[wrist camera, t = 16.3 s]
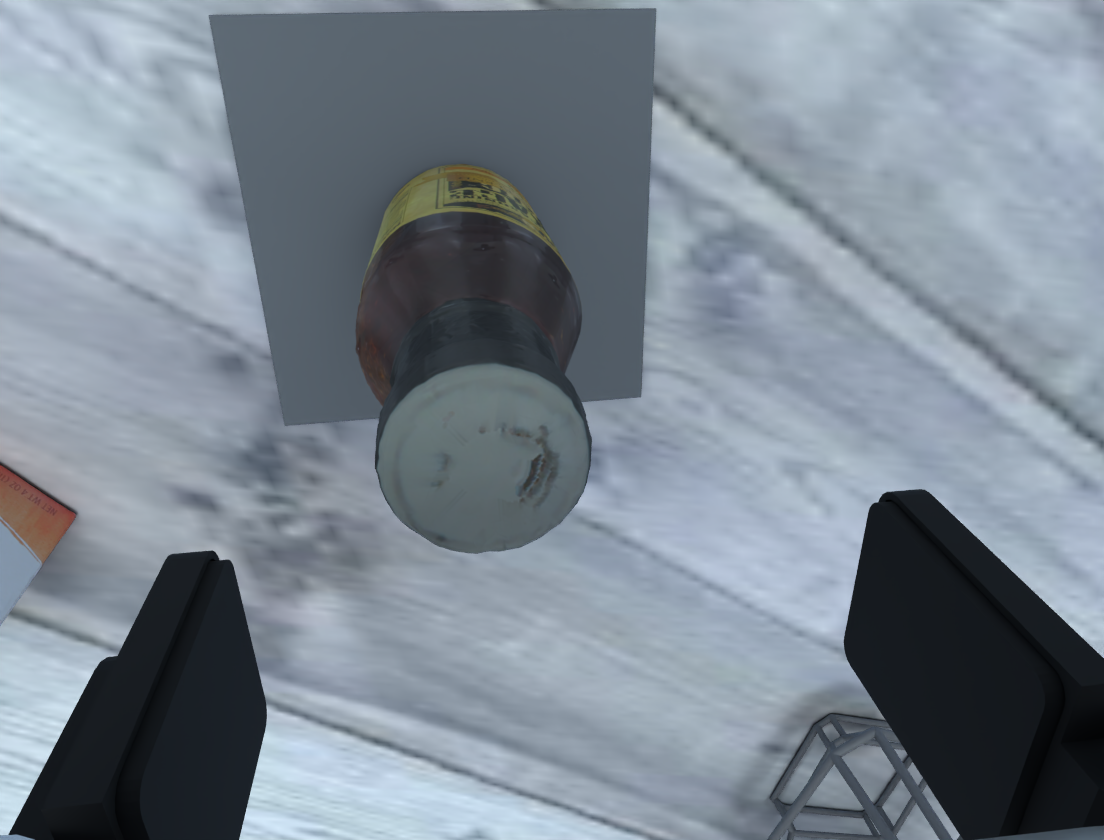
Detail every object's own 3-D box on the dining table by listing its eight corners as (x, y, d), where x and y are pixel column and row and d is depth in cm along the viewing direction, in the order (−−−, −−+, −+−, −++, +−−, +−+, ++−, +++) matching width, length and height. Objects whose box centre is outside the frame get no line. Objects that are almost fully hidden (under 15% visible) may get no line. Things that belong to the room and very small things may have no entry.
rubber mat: (651, 8, 30) (656, 8, 30) (637, 391, 37) (641, 397, 37) (212, 15, 28) (208, 14, 28) (286, 419, 35) (284, 425, 35)
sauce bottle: (564, 241, 33) (739, 484, 16) (454, 339, 34) (500, 669, 17) (456, 115, 30) (518, 236, 13) (340, 226, 31) (250, 479, 14)
